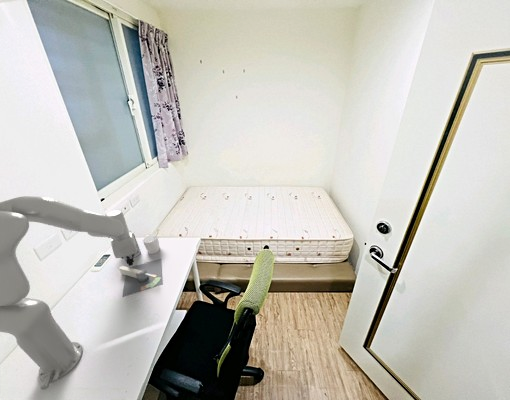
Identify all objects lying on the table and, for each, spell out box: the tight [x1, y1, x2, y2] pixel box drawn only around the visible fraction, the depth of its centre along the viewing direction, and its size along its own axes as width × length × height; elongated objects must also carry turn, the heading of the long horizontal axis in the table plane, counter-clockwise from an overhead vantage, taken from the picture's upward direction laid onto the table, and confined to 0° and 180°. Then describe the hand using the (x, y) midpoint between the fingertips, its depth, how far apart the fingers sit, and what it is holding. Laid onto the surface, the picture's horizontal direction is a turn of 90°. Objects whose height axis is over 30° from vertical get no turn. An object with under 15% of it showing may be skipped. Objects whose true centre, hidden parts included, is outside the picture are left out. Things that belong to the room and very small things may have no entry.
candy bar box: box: [129, 230, 142, 259], centre depth 128 cm, size 11×5×16 cm, turn 58°
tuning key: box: [118, 265, 157, 282], centre depth 112 cm, size 22×5×4 cm, turn 72°
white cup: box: [142, 233, 161, 255], centre depth 131 cm, size 8×8×10 cm
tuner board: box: [122, 258, 164, 298], centre depth 115 cm, size 20×18×1 cm
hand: (131, 263), depth 115 cm, fingers closed
